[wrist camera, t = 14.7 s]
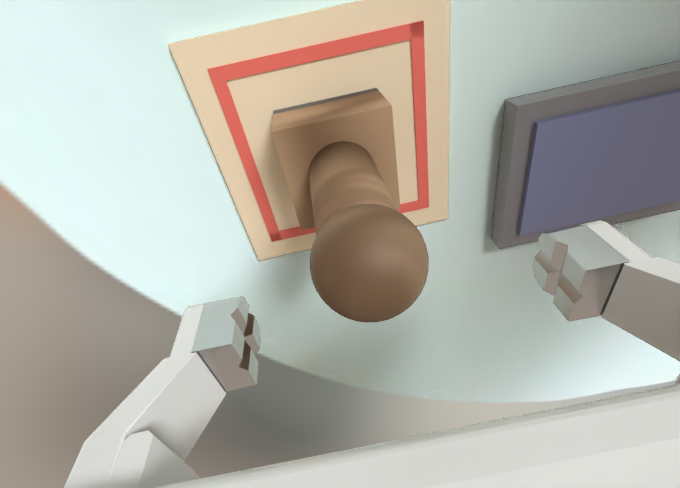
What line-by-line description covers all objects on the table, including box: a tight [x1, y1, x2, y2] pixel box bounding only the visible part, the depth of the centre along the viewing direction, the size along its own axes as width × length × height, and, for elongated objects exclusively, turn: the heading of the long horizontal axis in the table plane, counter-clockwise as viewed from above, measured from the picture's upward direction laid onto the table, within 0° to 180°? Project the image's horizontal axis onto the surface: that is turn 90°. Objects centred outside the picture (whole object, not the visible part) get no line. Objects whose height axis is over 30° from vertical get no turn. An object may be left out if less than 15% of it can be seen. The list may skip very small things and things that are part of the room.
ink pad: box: [491, 61, 680, 249], centre depth 20 cm, size 12×9×2 cm
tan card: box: [168, 0, 450, 260], centre depth 18 cm, size 12×12×1 cm
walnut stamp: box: [272, 88, 429, 322], centre depth 14 cm, size 5×5×11 cm
